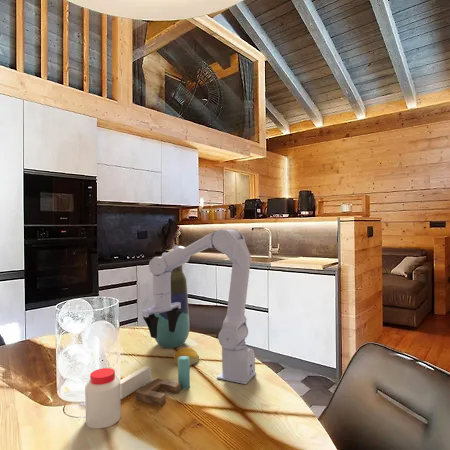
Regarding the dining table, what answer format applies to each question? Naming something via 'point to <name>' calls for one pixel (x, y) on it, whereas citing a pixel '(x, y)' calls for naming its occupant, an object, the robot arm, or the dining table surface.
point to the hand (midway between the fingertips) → (163, 334)
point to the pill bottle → (102, 399)
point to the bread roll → (187, 352)
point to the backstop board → (134, 381)
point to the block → (157, 391)
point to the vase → (182, 325)
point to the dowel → (184, 372)
